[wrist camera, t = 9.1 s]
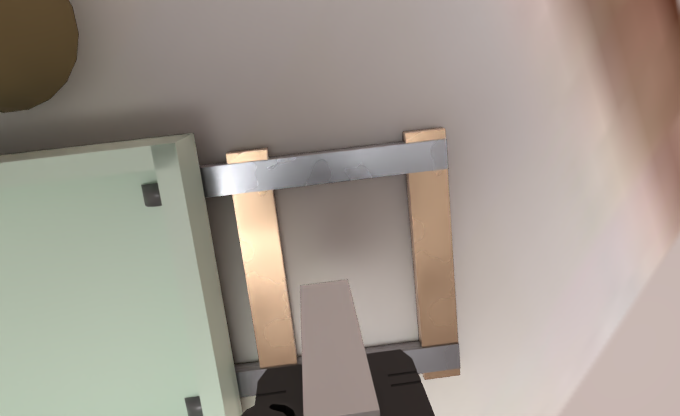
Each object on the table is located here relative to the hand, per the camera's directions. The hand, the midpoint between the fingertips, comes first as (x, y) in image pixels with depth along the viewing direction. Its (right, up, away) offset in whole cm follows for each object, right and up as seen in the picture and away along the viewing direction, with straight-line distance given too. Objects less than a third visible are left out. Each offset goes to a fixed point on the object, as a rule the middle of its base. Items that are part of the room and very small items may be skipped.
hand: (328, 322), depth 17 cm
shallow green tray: (-11, 0, +6) cm, 12 cm away
